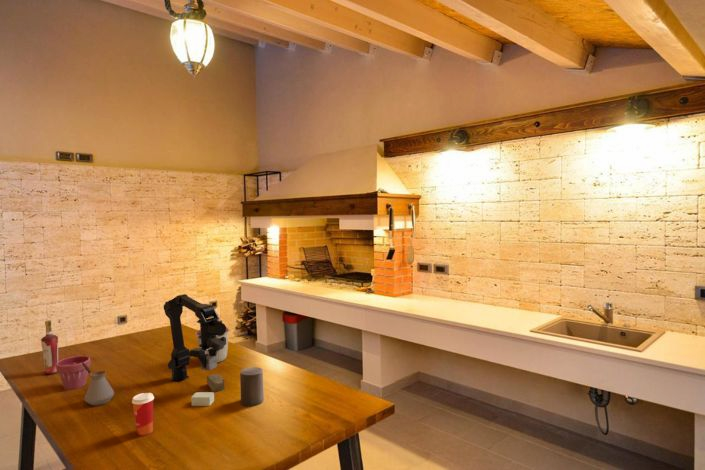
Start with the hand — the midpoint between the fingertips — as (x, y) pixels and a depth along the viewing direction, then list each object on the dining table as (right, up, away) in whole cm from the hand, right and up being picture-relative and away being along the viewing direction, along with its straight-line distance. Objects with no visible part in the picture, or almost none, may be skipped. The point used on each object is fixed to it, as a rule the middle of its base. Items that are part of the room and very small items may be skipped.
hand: (208, 365), depth 206 cm
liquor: (-92, -12, +28) cm, 97 cm away
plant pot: (-68, -13, +9) cm, 70 cm away
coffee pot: (-49, -13, -7) cm, 52 cm away
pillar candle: (+24, -12, -14) cm, 30 cm away
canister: (-10, -9, +39) cm, 41 cm away
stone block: (+3, -11, +2) cm, 12 cm away
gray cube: (0, -1, 0) cm, 1 cm away
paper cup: (-12, -14, -38) cm, 42 cm away
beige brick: (+2, -12, -14) cm, 19 cm away
